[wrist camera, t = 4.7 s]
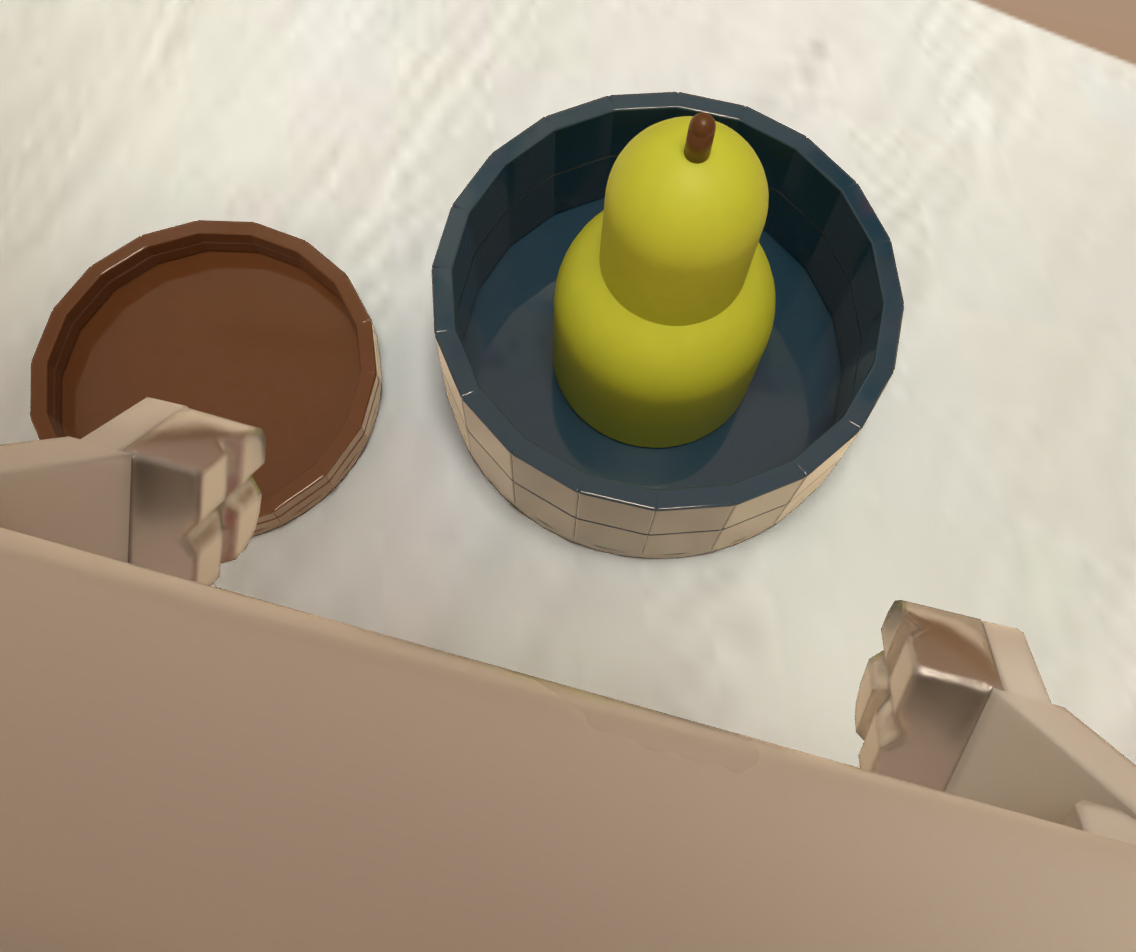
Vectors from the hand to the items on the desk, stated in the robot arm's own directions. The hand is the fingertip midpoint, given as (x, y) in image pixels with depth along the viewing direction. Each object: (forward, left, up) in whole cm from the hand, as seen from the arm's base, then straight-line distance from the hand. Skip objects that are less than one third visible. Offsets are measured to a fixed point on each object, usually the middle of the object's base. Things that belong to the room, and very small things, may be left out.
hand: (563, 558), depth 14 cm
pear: (-3, +12, -18) cm, 22 cm away
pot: (-3, +12, -19) cm, 22 cm away
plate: (-15, +3, -19) cm, 24 cm away
